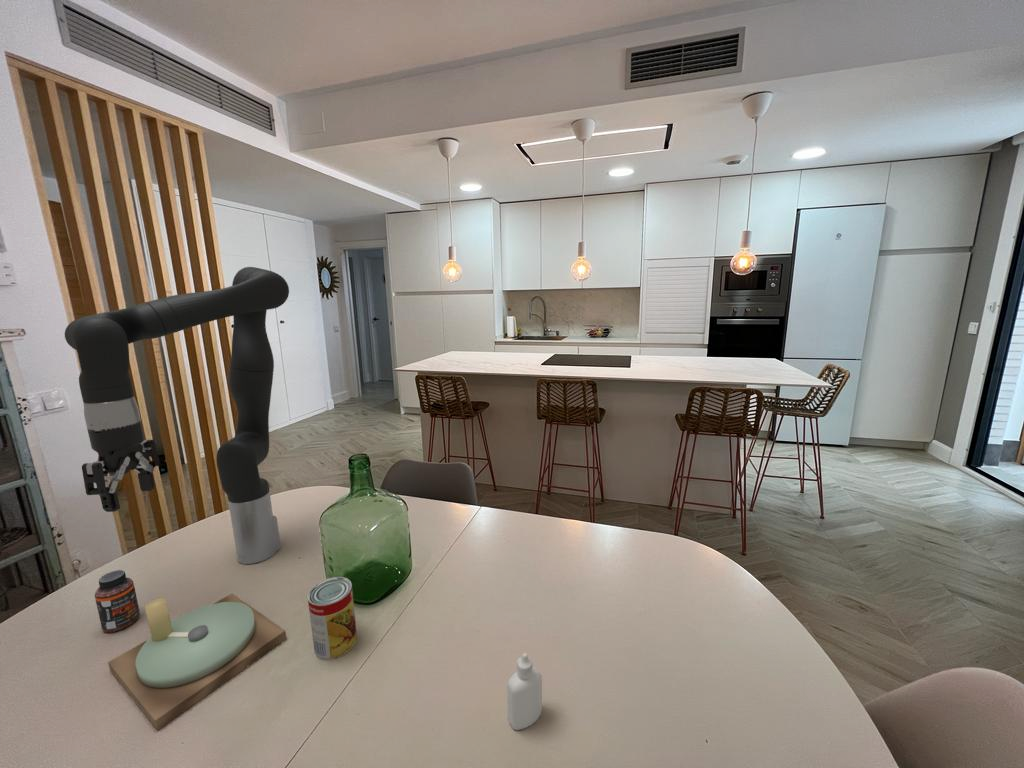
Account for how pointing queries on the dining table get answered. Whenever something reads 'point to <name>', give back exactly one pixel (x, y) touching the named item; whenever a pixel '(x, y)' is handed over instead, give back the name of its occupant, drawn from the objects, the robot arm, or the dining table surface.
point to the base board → (176, 700)
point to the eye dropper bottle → (524, 694)
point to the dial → (192, 642)
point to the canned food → (332, 617)
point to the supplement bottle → (116, 601)
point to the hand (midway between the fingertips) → (131, 500)
